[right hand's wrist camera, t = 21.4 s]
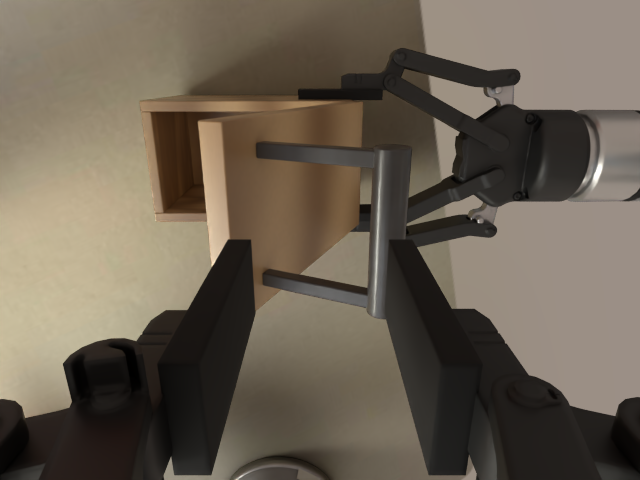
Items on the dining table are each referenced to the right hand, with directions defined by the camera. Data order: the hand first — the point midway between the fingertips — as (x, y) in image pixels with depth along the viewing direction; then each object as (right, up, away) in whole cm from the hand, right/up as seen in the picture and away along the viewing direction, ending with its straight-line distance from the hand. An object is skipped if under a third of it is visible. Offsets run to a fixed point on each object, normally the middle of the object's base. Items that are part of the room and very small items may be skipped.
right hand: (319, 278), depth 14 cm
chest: (-6, +11, +29) cm, 31 cm away
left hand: (-2, +8, +22) cm, 24 cm away
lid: (-1, +4, +12) cm, 12 cm away
